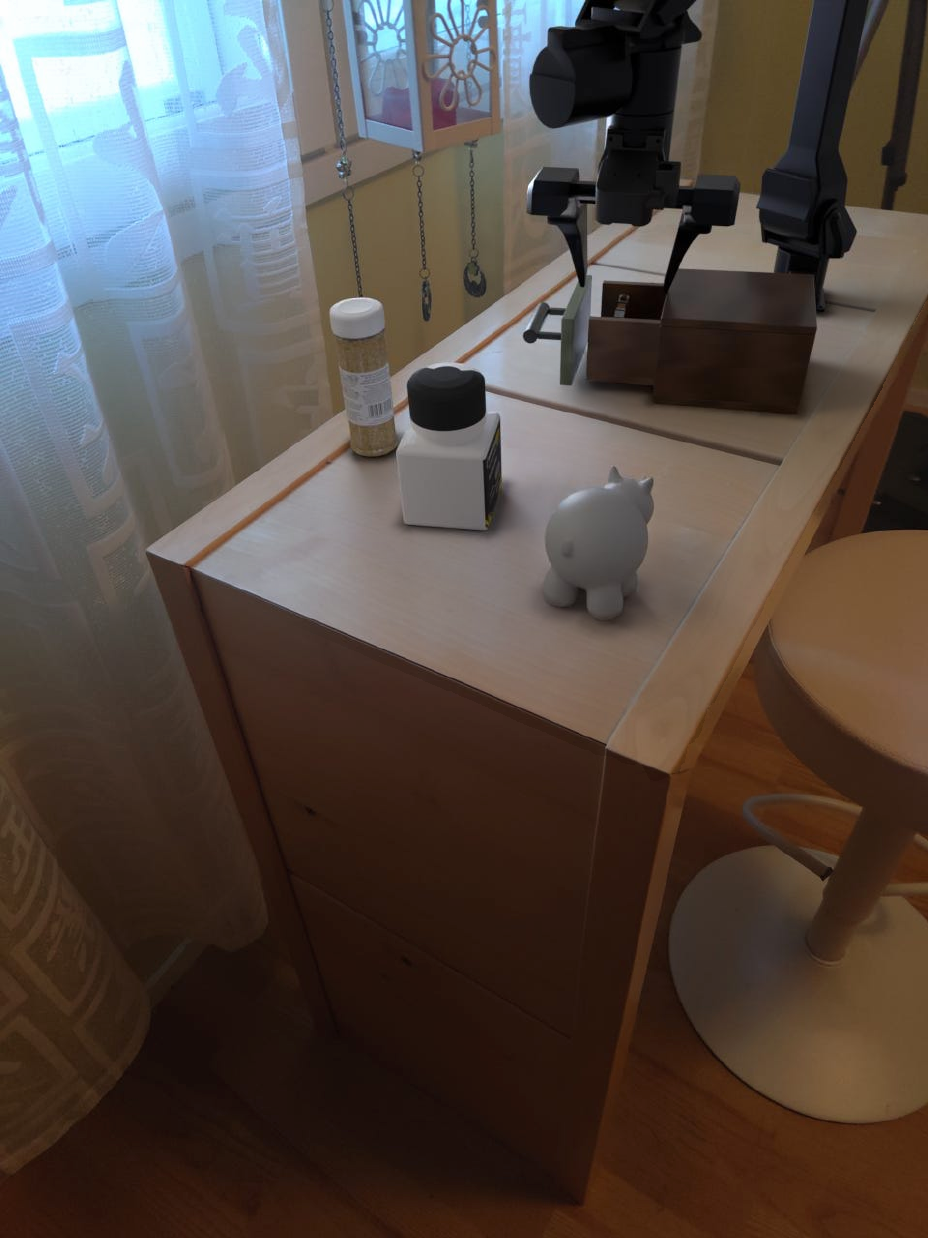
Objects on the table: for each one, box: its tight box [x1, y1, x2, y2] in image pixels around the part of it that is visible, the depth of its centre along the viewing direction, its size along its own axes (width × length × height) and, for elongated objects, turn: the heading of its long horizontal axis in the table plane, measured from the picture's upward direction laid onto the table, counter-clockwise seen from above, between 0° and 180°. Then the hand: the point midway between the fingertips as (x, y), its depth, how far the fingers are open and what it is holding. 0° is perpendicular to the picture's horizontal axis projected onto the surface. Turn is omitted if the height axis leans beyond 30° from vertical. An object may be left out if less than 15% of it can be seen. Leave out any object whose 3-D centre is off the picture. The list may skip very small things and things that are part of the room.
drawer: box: [522, 274, 667, 386], centre depth 90 cm, size 17×11×7 cm
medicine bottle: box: [395, 361, 503, 532], centre depth 71 cm, size 7×7×12 cm
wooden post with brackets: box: [614, 294, 629, 318], centre depth 89 cm, size 2×8×4 cm, turn 166°
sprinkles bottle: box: [329, 297, 399, 458], centre depth 79 cm, size 5×5×14 cm
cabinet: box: [652, 267, 818, 415], centre depth 87 cm, size 14×13×9 cm
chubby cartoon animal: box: [541, 465, 655, 621], centre depth 64 cm, size 7×12×8 cm, turn 146°
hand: (623, 289), depth 87 cm, fingers open, 8 cm apart
